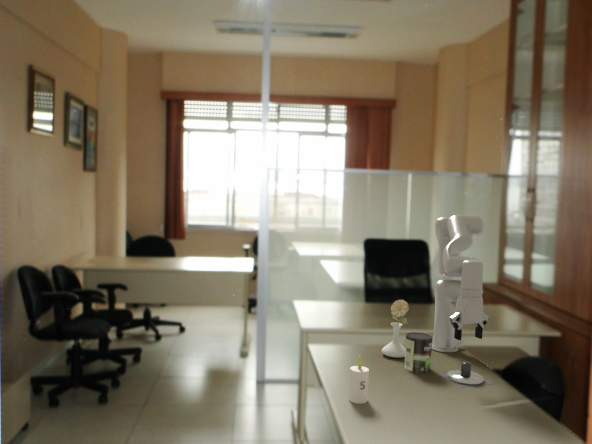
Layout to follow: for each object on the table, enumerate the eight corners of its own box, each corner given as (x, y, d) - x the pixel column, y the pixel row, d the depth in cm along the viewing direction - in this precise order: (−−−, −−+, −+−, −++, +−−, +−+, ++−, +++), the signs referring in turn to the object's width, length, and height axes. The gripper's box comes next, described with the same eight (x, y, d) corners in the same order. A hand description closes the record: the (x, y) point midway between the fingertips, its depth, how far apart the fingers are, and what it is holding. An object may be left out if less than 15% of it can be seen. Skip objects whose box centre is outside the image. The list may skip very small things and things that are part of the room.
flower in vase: (376, 353, 228) (379, 296, 226) (397, 350, 233) (401, 294, 231) (393, 362, 216) (397, 302, 215) (416, 359, 221) (419, 301, 219)
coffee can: (434, 370, 208) (436, 335, 207) (423, 377, 200) (426, 341, 199) (410, 364, 214) (412, 330, 213) (399, 370, 206) (401, 335, 205)
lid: (467, 371, 206) (468, 355, 206) (491, 383, 194) (492, 366, 194) (440, 374, 201) (441, 358, 201) (463, 387, 189) (464, 370, 189)
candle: (352, 404, 171) (355, 359, 171) (345, 396, 178) (347, 353, 177) (370, 403, 173) (373, 358, 172) (363, 395, 179) (365, 352, 179)
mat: (467, 373, 207) (467, 371, 207) (493, 386, 194) (493, 383, 194) (438, 376, 201) (438, 374, 201) (462, 390, 188) (462, 387, 188)
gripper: (482, 290, 202) (479, 334, 203) (445, 292, 196) (442, 337, 196) (496, 294, 195) (493, 340, 196) (458, 295, 189) (456, 342, 189)
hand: (468, 338), depth 196 cm, fingers open, 9 cm apart
